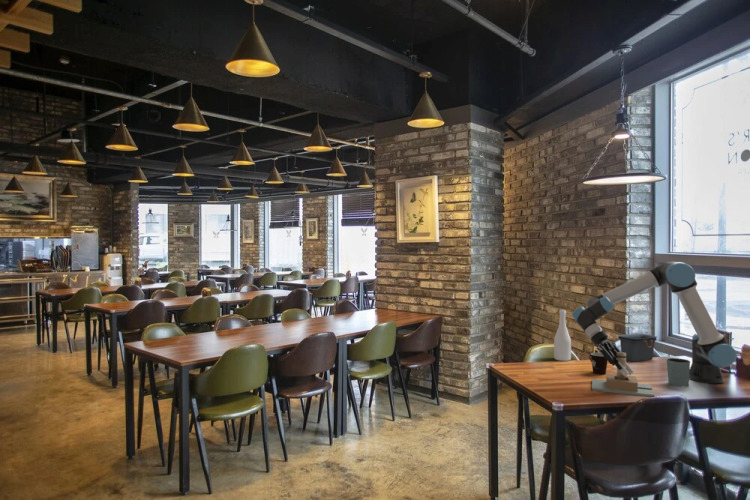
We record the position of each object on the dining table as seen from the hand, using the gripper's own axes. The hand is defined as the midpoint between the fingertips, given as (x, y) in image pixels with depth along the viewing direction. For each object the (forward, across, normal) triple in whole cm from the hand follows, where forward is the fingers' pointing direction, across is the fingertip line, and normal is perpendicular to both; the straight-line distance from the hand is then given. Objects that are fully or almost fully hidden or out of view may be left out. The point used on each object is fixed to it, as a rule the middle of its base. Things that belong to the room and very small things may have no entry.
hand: (629, 374), depth 236 cm
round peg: (+1, 0, -6) cm, 6 cm away
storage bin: (-15, -68, -26) cm, 74 cm away
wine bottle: (-34, -31, -45) cm, 65 cm away
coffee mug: (-13, -20, -25) cm, 35 cm away
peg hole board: (+3, 0, -8) cm, 9 cm away
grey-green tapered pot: (+12, -30, 0) cm, 33 cm away
